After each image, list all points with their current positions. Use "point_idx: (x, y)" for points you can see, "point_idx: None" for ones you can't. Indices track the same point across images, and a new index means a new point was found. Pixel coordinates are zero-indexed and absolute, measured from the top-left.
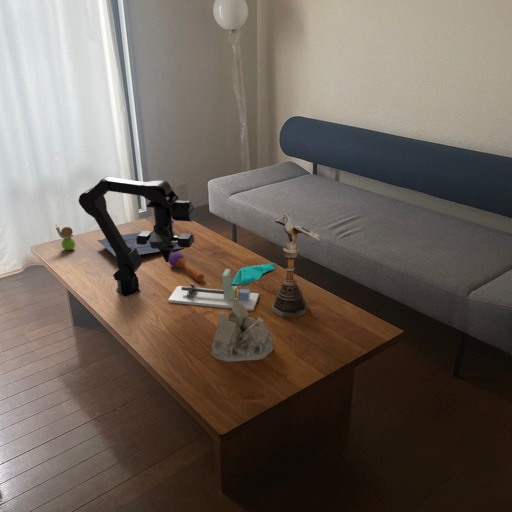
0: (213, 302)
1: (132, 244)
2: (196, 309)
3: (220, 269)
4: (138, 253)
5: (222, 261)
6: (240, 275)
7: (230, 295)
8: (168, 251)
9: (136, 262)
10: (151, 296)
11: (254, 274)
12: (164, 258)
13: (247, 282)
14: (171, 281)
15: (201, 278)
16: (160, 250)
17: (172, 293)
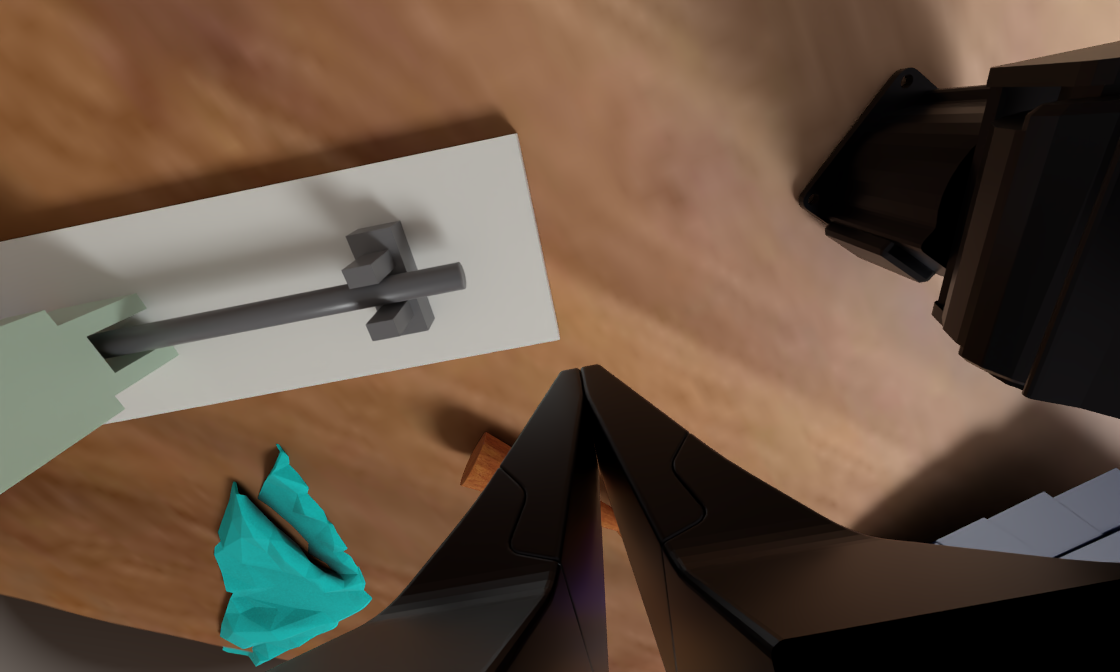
0: (175, 231)
1: None
2: (249, 115)
3: None
4: (955, 544)
5: None
6: (321, 552)
7: (52, 317)
8: (486, 542)
9: (1094, 225)
10: (683, 164)
11: (266, 578)
12: (620, 389)
13: (227, 512)
14: (642, 387)
15: (471, 460)
16: (762, 507)
17: (537, 235)
